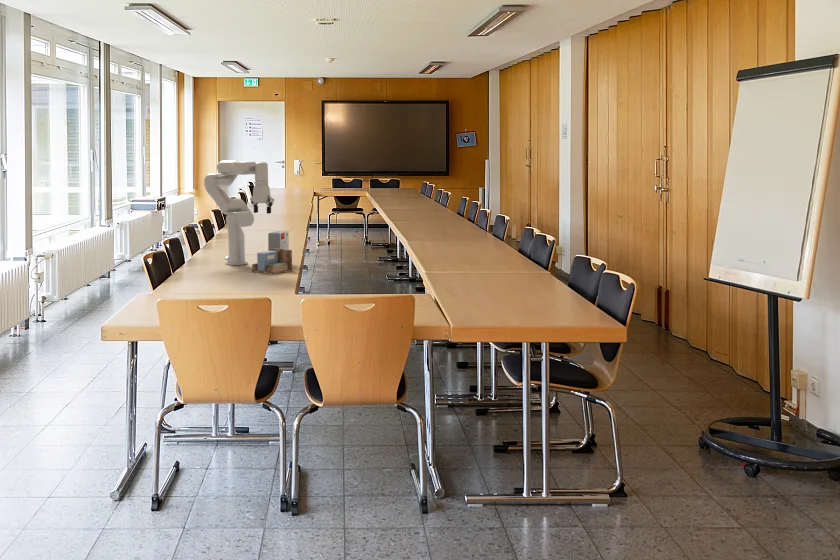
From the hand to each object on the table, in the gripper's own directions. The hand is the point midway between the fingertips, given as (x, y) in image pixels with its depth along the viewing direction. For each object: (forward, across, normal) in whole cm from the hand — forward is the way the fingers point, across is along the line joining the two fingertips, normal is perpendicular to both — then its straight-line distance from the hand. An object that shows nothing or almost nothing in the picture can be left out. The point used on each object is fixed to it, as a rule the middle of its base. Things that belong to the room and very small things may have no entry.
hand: (262, 213), depth 511 cm
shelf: (+32, +13, -8) cm, 36 cm away
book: (+31, +10, -9) cm, 34 cm away
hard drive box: (+33, 0, +14) cm, 35 cm away
